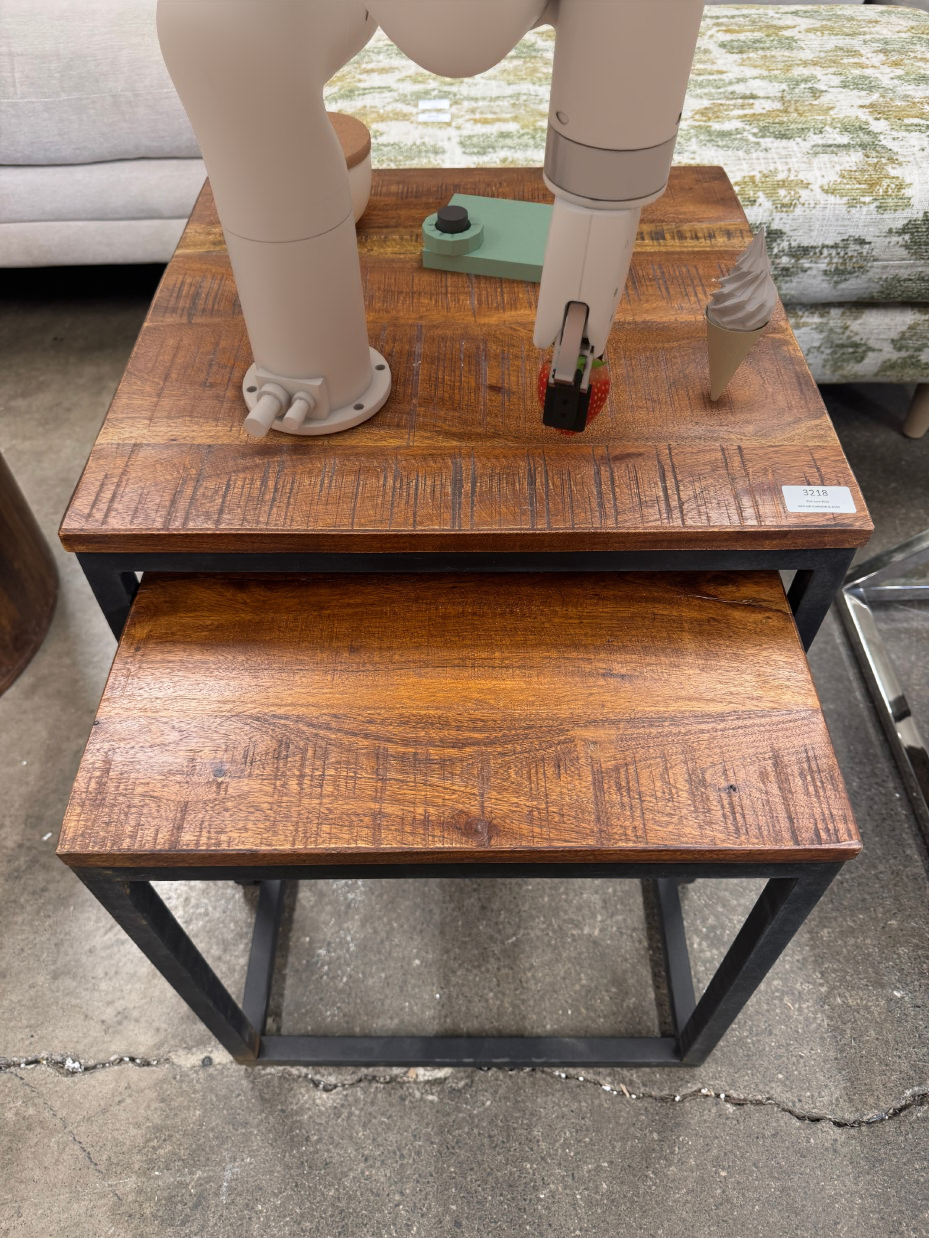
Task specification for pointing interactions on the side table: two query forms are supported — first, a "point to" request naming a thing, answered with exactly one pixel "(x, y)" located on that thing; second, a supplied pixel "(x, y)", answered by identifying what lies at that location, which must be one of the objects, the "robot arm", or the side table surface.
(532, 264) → the scale
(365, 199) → the lidded bowl
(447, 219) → the button
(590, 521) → the side table surface
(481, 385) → the side table surface
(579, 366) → the fruit
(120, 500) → the side table surface
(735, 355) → the ice cream cone
